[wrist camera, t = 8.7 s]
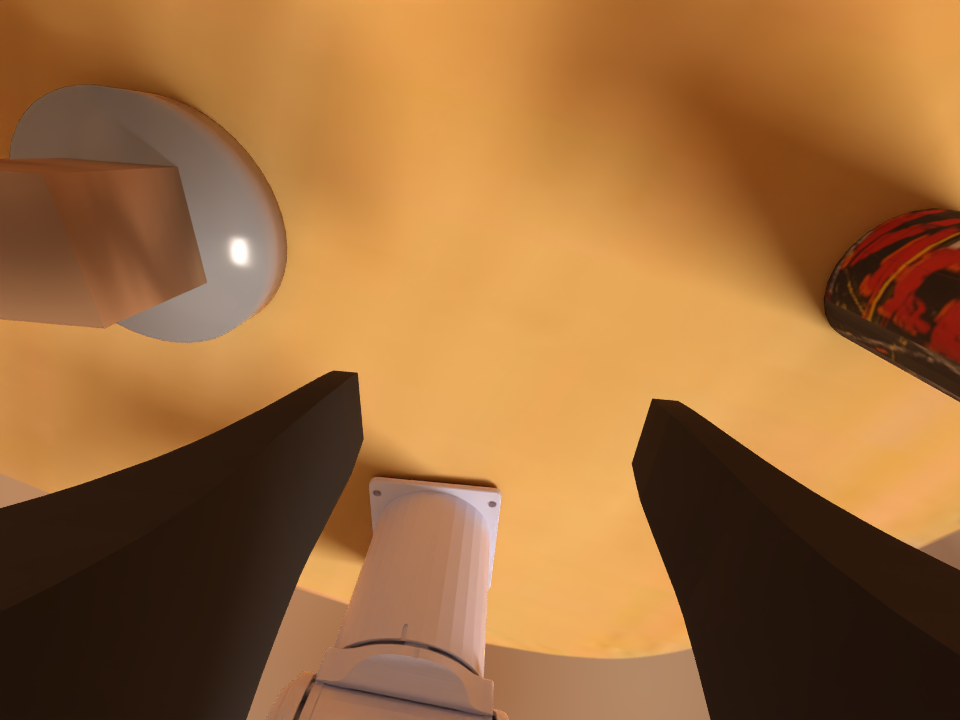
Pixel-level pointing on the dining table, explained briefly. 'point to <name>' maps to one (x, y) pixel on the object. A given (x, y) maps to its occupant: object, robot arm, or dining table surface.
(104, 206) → the walnut block
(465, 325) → the dining table surface
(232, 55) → the dining table surface
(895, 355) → the deodorant
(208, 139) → the grey disc
